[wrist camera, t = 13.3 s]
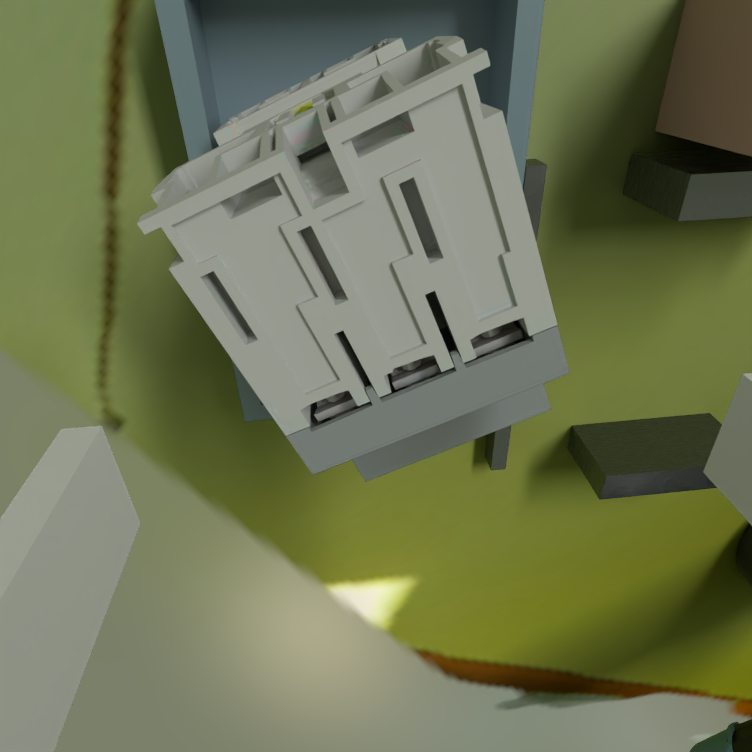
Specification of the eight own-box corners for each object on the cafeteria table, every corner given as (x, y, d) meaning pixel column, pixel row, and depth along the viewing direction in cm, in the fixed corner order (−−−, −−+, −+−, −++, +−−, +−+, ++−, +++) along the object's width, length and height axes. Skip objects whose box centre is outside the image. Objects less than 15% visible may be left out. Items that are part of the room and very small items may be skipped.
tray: (479, 362, 32) (498, 399, 29) (252, 381, 32) (244, 421, 28) (515, -50, 22) (552, -67, 18) (170, -40, 21) (142, -55, 17)
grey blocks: (779, 427, 38) (836, 475, 34) (484, 455, 37) (506, 509, 33) (922, 137, 28) (1032, 154, 23) (516, 160, 26) (555, 182, 22)
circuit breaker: (361, 365, 31) (394, 591, 18) (229, 118, 23) (128, 211, 10) (482, 314, 29) (606, 517, 17) (385, 38, 22) (482, 34, 9)
